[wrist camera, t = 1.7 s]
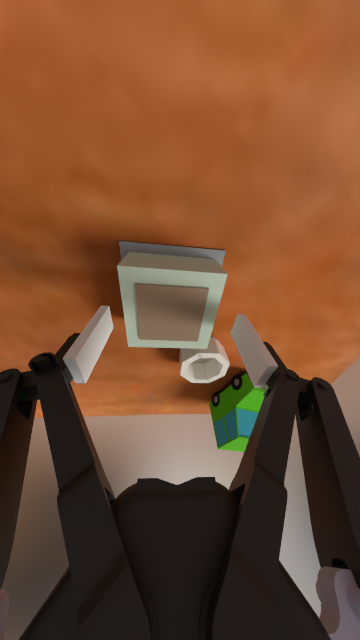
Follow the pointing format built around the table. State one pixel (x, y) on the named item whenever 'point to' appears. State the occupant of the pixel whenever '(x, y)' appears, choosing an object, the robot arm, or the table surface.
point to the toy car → (236, 413)
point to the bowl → (204, 363)
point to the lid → (170, 299)
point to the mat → (170, 250)
